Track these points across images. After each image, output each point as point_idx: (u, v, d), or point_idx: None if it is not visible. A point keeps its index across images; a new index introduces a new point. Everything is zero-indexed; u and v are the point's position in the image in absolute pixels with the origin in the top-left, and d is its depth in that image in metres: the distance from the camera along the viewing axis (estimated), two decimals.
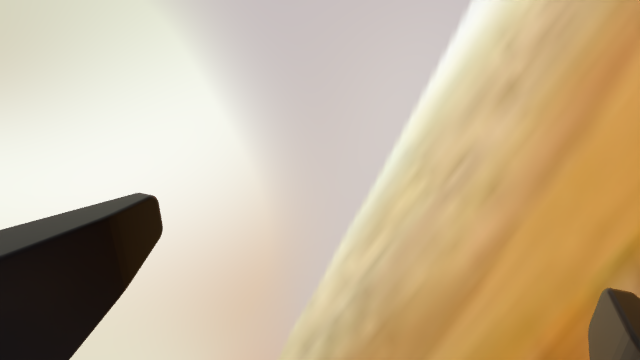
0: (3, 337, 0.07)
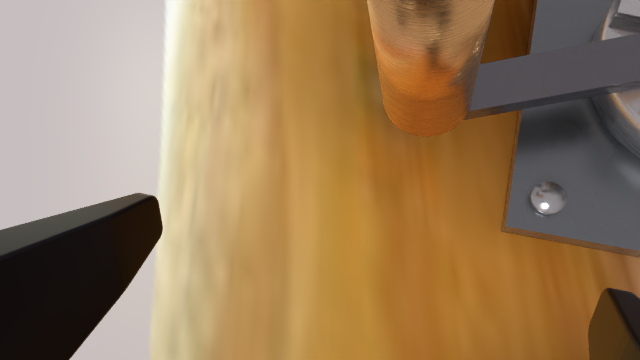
0: (3, 337, 0.07)
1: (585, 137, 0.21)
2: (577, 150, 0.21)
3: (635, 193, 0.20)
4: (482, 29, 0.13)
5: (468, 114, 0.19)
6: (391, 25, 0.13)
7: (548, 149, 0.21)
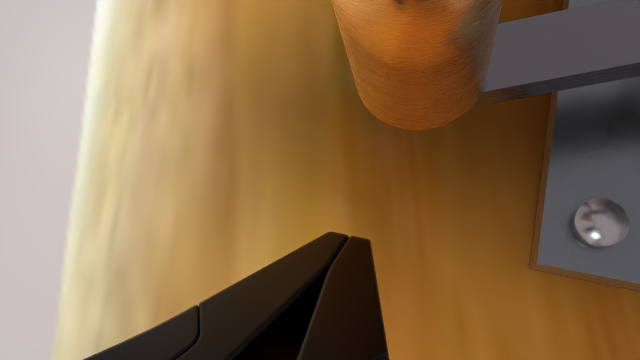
0: None
1: None
2: None
3: None
4: None
5: (482, 98, 0.13)
6: None
7: (597, 151, 0.15)
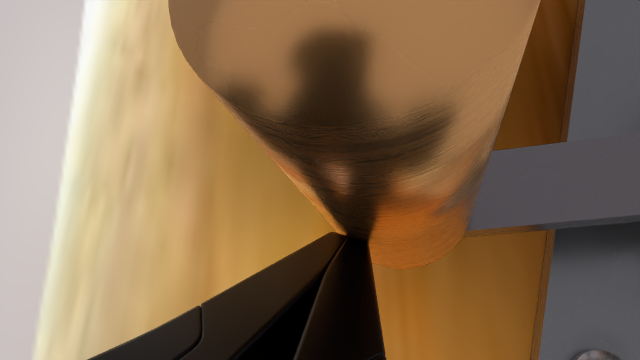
0: None
1: None
2: None
3: None
4: (481, 151, 0.06)
5: (467, 233, 0.12)
6: (262, 144, 0.05)
7: (599, 289, 0.13)
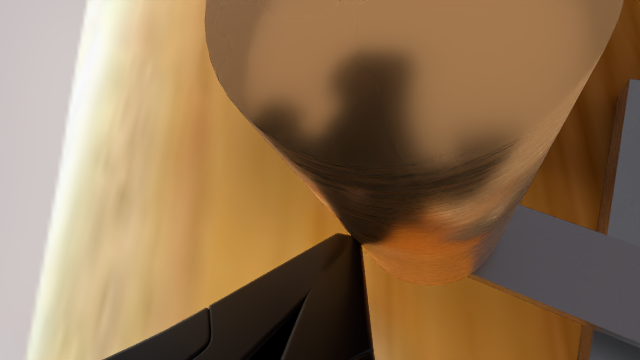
0: None
1: None
2: None
3: None
4: (468, 221, 0.06)
5: (472, 276, 0.11)
6: None
7: None
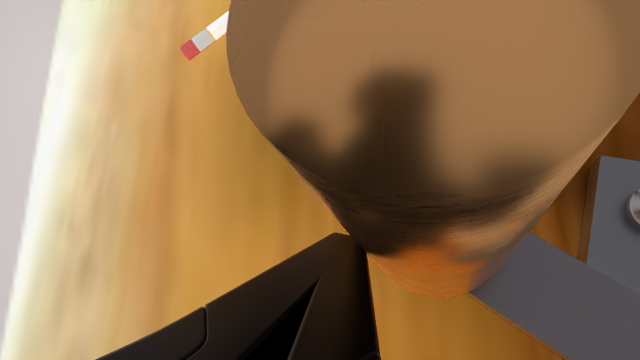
0: None
1: None
2: None
3: None
4: (462, 251, 0.05)
5: (469, 294, 0.11)
6: None
7: None
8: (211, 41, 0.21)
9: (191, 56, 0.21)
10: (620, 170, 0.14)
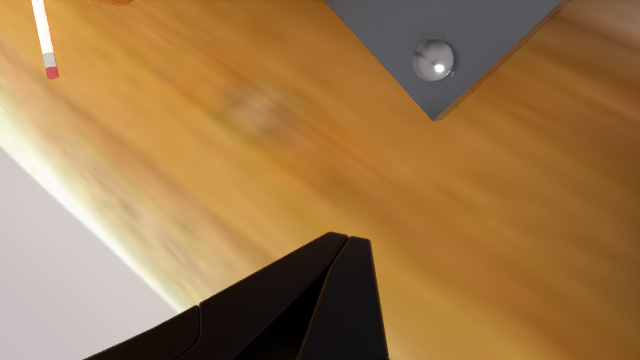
0: None
1: None
2: None
3: None
4: None
5: None
6: None
7: (389, 17, 0.17)
8: (52, 55, 0.29)
9: (56, 73, 0.30)
10: None
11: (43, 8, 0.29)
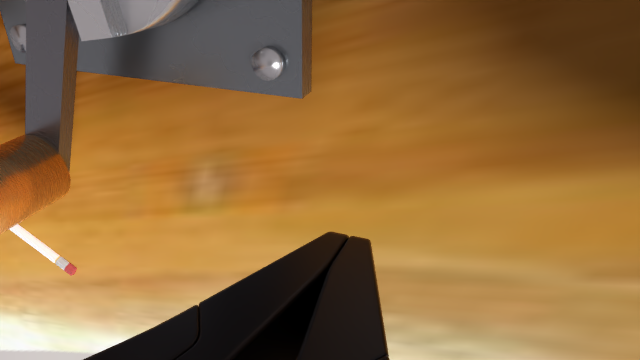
0: None
1: (204, 26, 0.21)
2: (218, 34, 0.21)
3: None
4: None
5: (64, 149, 0.23)
6: None
7: (223, 60, 0.22)
8: (61, 258, 0.35)
9: (73, 267, 0.35)
10: (18, 53, 0.26)
11: (29, 234, 0.35)
